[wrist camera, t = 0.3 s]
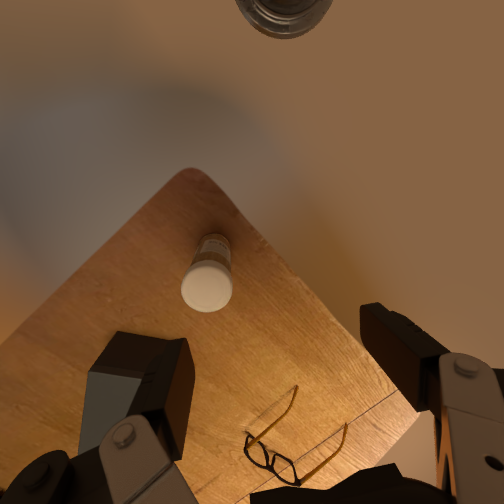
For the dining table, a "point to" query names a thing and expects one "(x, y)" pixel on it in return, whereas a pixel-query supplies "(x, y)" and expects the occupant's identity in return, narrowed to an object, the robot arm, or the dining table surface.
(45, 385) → the dining table surface
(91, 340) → the dining table surface
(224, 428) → the dining table surface
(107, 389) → the shelf
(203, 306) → the sprinkles bottle
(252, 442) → the eyeglasses
